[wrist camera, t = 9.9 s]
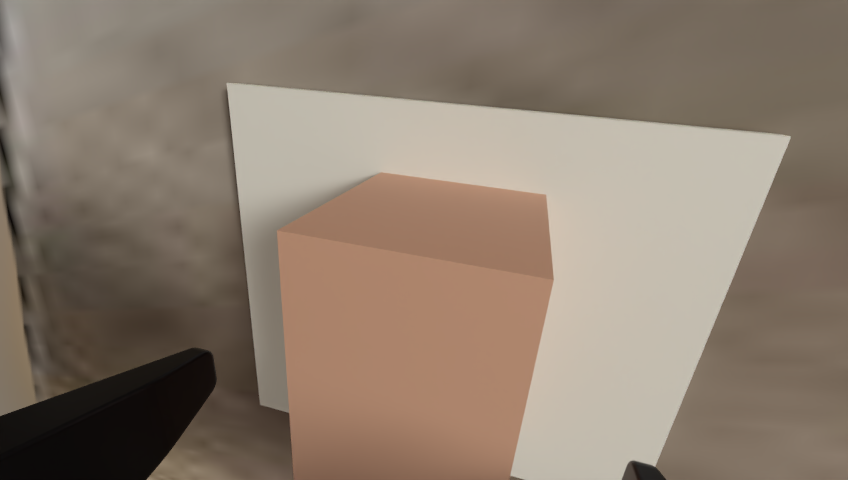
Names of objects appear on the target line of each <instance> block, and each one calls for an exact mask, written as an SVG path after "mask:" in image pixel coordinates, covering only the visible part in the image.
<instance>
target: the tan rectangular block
mask: <svg viewBox="0 0 848 480" xmlns="http://www.w3.org/2000/svg"><path fill="white" fill-rule="evenodd" d="M277 240H278V255H279V270H280V284H281V299H282V314H283V328H284V343H285V358H286V372H287V387H288V402H289V417H290V431H291V446H292V461H293V475H294V480H509V479H510V474H511V470H512V465H513V461H514V456H515V452H516V447H517V443H518V438H519V434H520V429H521V425H522V420H523V416H524V412H525V407H526V403H527V398H528V394H529V389H530V385H531V380H532V376H533V371H534V367H535V362H536V358H537V353H538V349H539V344H540V340H541V335H542V331H543V326H544V322H545V317H546V313H547V308H548V304H549V299H550V295H551V290H552V286H553V282H554V276H553V265H552V254H551V243H550V231H549V220H548V209H547V198H546V195H545V194H537V193H530V192H523V191H515V190H508V189H501V188H493V187H486V186H479V185H471V184H464V183H457V182H449V181H442V180H435V179H427V178H420V177H413V176H405V175H398V174H391V173H383V172H381V173H379V174H377V175H375V176H374V177H372V178H370V179H368V180H366V181H365V182H363V183H361V184H359V185H357V186H356V187H354V188H352V189H350V190H348V191H347V192H345V193H343V194H341V195H340V196H338V197H336V198H334V199H332V200H331V201H329V202H327V203H325V204H323V205H322V206H320V207H318V208H316V209H314V210H313V211H311V212H309V213H307V214H306V215H304V216H302V217H300V218H298V219H297V220H295V221H293V222H291V223H289V224H288V225H286V226H284V227H282V228H280V229H279V230H277Z"/></svg>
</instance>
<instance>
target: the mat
mask: <svg viewBox="0 0 848 480" xmlns="http://www.w3.org/2000/svg"><path fill="white" fill-rule="evenodd" d="M227 91H228V100H229V110H230V120H231V129H232V139H233V149H234V158H235V168H236V178H237V187H238V197H239V207H240V216H241V226H242V236H243V245H244V255H245V265H246V274H247V284H248V293H249V303H250V313H251V322H252V332H253V342H254V351H255V361H256V371H257V380H258V390H259V400H260V405H263V406H266V407H270V408H273V409H277V410H281V411H284V412H288V413H289V402H288V387H287V372H286V358H285V343H284V328H283V314H282V299H281V284H280V270H279V255H278V240H277V230H279V229H280V228H282V227H284V226H286V225H288V224H289V223H291V222H293V221H295V220H297V219H298V218H300V217H302V216H304V215H306V214H307V213H309V212H311V211H313V210H314V209H316V208H318V207H320V206H322V205H323V204H325V203H327V202H329V201H331V200H332V199H334V198H336V197H338V196H340V195H341V194H343V193H345V192H347V191H348V190H350V189H352V188H354V187H356V186H357V185H359V184H361V183H363V182H365V181H366V180H368V179H370V178H372V177H374V176H375V175H377V174H379V173H381V172H383V173H391V174H398V175H405V176H413V177H420V178H427V179H435V180H442V181H449V182H457V183H464V184H471V185H479V186H486V187H493V188H501V189H508V190H515V191H523V192H530V193H537V194H545V195H546V198H547V209H548V220H549V231H550V243H551V254H552V265H553V276H554V282H553V286H552V290H551V295H550V299H549V304H548V308H547V313H546V317H545V322H544V326H543V331H542V335H541V340H540V344H539V349H538V353H537V358H536V362H535V367H534V371H533V376H532V380H531V385H530V389H529V394H528V398H527V403H526V407H525V412H524V416H523V420H522V425H521V429H520V434H519V438H518V443H517V447H516V452H515V456H514V461H513V465H512V470H511V474H510V476H514V477H517V478H521V479H525V480H622V477H623V475H624V472H625V469H626V466H627V464H628V463H629V462H630V461H632V460H635V461H639V462H642V463H646V464H650V465H653V466H656V463H657V461H658V458H659V456H660V453H661V451H662V449H663V446H664V444H665V441H666V439H667V436H668V434H669V432H670V429H671V427H672V424H673V422H674V419H675V417H676V415H677V412H678V410H679V407H680V405H681V402H682V400H683V398H684V395H685V393H686V390H687V388H688V385H689V383H690V381H691V378H692V376H693V373H694V371H695V368H696V366H697V364H698V361H699V359H700V356H701V354H702V352H703V349H704V347H705V344H706V342H707V339H708V337H709V335H710V332H711V330H712V327H713V325H714V322H715V320H716V318H717V315H718V313H719V310H720V308H721V305H722V303H723V301H724V298H725V296H726V293H727V291H728V288H729V286H730V284H731V281H732V279H733V276H734V274H735V271H736V269H737V267H738V264H739V262H740V259H741V257H742V254H743V252H744V250H745V247H746V245H747V242H748V240H749V237H750V235H751V233H752V230H753V228H754V225H755V223H756V220H757V218H758V216H759V213H760V211H761V208H762V206H763V204H764V201H765V199H766V196H767V194H768V191H769V189H770V187H771V184H772V182H773V179H774V177H775V174H776V172H777V170H778V167H779V165H780V162H781V160H782V157H783V155H784V153H785V150H786V148H787V145H788V143H789V140H790V138H791V136H786V135H781V134H774V133H763V132H752V131H742V130H731V129H720V128H710V127H699V126H689V125H678V124H667V123H657V122H646V121H636V120H625V119H614V118H604V117H593V116H582V115H572V114H561V113H551V112H540V111H529V110H519V109H508V108H497V107H487V106H476V105H466V104H455V103H444V102H434V101H423V100H412V99H402V98H391V97H381V96H370V95H359V94H349V93H338V92H328V91H317V90H306V89H296V88H285V87H274V86H264V85H253V84H243V83H227Z"/></svg>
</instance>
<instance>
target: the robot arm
mask: <svg viewBox="0 0 848 480" xmlns="http://www.w3.org/2000/svg"><path fill="white" fill-rule="evenodd" d="M216 380H217V378H216V371H215V365H214V358H213V354H212V353H211V352H210V351H208V350H204V349H200V348H191V349H188V350H185V351H182V352H179V353H176V354H174V355H171V356H168V357H165V358H162V359H160V360H157V361H154V362H151V363H148V364H146V365H143V366H140V367H137V368H134V369H131V370H129V371H126V372H123V373H120V374H117V375H115V376H112V377H109V378H106V379H103V380H101V381H98V382H95V383H92V384H89V385H87V386H84V387H81V388H78V389H75V390H72V391H70V392H67V393H64V394H61V395H58V396H56V397H53V398H50V399H47V400H44V401H42V402H39V403H36V404H33V405H30V406H28V407H25V408H22V409H19V410H16V411H14V412H11V413H8V414H5V415H2V416H0V480H146V479H147V478H148V477H149V476H150V475H151V473H152V472H153V471H154V470H155V469H156V468H157V466H158V465H159V464H160V463H161V462H162V460H163V459H164V458H165V457H166V455H167V454H168V453H169V452H170V450H171V449H172V448H173V446H174V445H175V443H176V442H177V441H178V439H179V438H180V437H181V435H182V434H183V432H184V431H185V429H186V428H187V427H188V425H189V424H190V422H191V421H192V420H193V418H194V417H195V415H196V414H197V412H198V411H199V410H200V408H201V407H202V405H203V404H204V402H205V401H206V400H207V398H208V397H209V395H210V394H211V393H212V391H213V389H214V387H215V385H216ZM622 480H666V479H665V478H664V476H663V475H662V474H661V473H660V471H659V470H658V469H657V468H656V467H655V466H653V465H650V464H646V463H642V462H639V461H635V460H632V461H630V462H629V463H628V464H627V466H626V469H625V472H624V475H623V477H622Z"/></svg>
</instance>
